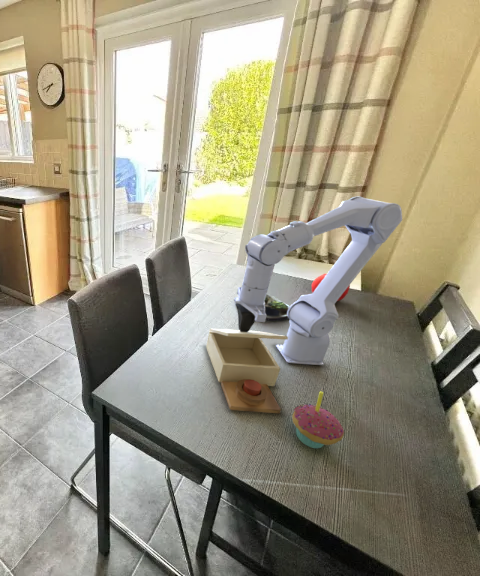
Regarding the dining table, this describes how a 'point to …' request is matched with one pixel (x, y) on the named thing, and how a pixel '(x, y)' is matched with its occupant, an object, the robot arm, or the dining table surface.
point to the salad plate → (275, 309)
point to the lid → (248, 334)
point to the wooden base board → (249, 398)
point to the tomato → (318, 281)
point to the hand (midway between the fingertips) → (243, 330)
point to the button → (252, 387)
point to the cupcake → (316, 425)
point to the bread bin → (241, 359)
